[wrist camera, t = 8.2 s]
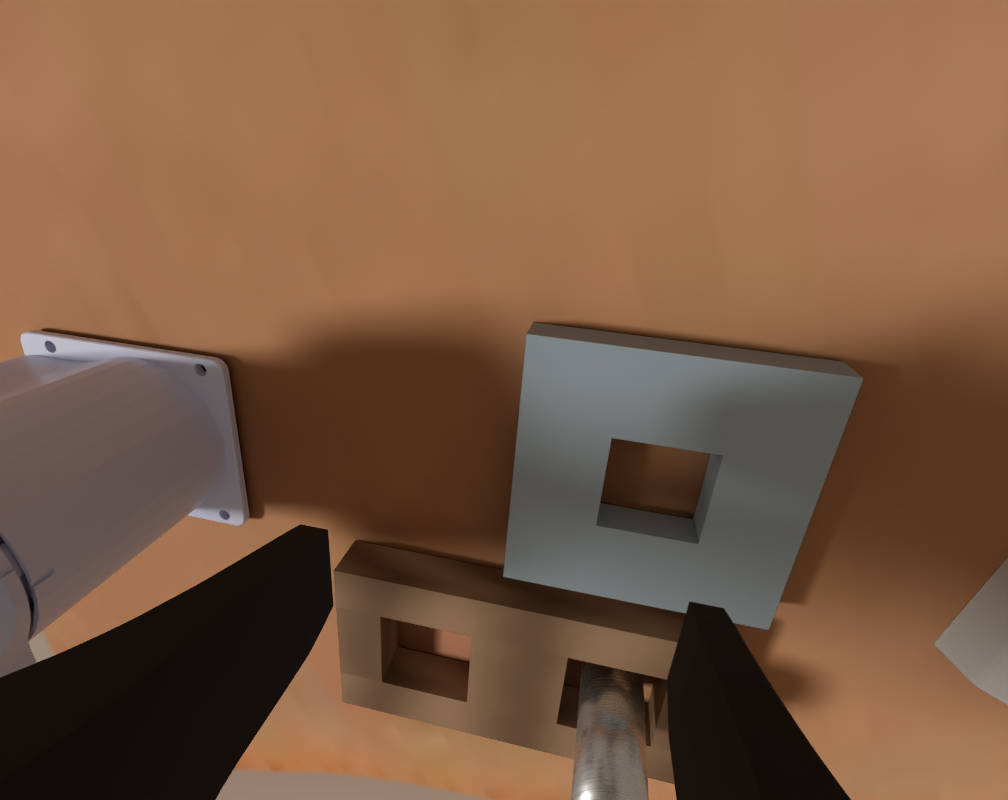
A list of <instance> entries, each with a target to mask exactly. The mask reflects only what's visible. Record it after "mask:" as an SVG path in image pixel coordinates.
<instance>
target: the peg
mask: <svg viewBox="0 0 1008 800" xmlns="http://www.w3.org/2000/svg"><path fill="white" fill-rule="evenodd" d="M571 800H649V799H648V777H647V755H646V733H645V712H644V690H643V674H639V673H634V672H630V671H625V670H621V669H616V668H612V667H607V666H603V665H598V664H594V663H589V662H585V661H582V666H581V679H580V692H579V705H578V717H577V730H576V743H575V756H574V769H573V782H572V795H571Z"/></svg>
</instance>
